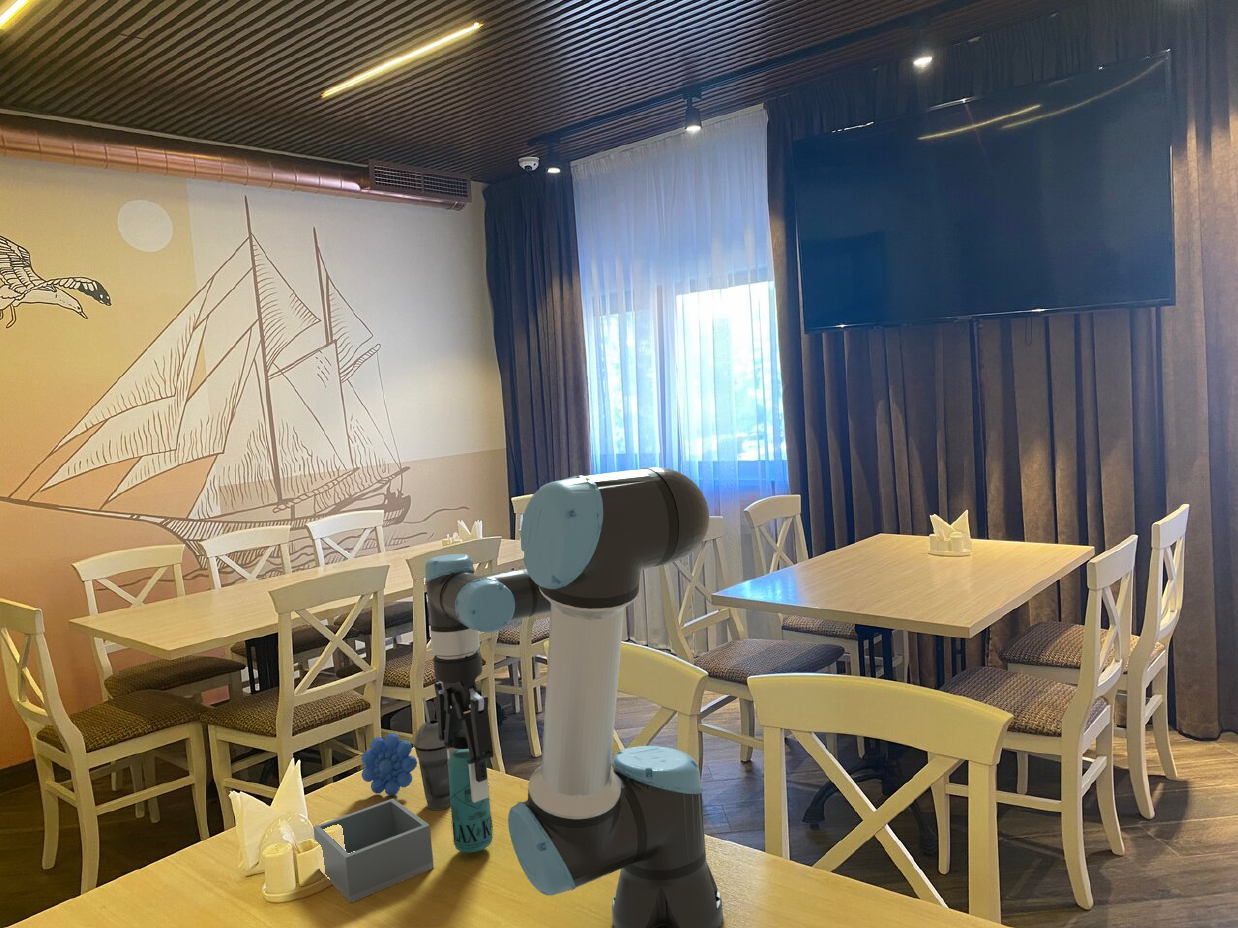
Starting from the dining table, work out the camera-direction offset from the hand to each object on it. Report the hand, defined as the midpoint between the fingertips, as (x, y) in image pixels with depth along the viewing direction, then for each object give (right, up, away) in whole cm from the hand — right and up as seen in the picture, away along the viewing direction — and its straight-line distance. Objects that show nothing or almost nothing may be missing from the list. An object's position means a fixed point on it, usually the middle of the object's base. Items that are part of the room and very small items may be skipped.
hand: (469, 791), depth 146 cm
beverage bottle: (+1, -10, +1) cm, 10 cm away
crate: (-15, -11, -2) cm, 19 cm away
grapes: (-18, -10, +25) cm, 33 cm away
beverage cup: (-8, -9, +19) cm, 23 cm away
